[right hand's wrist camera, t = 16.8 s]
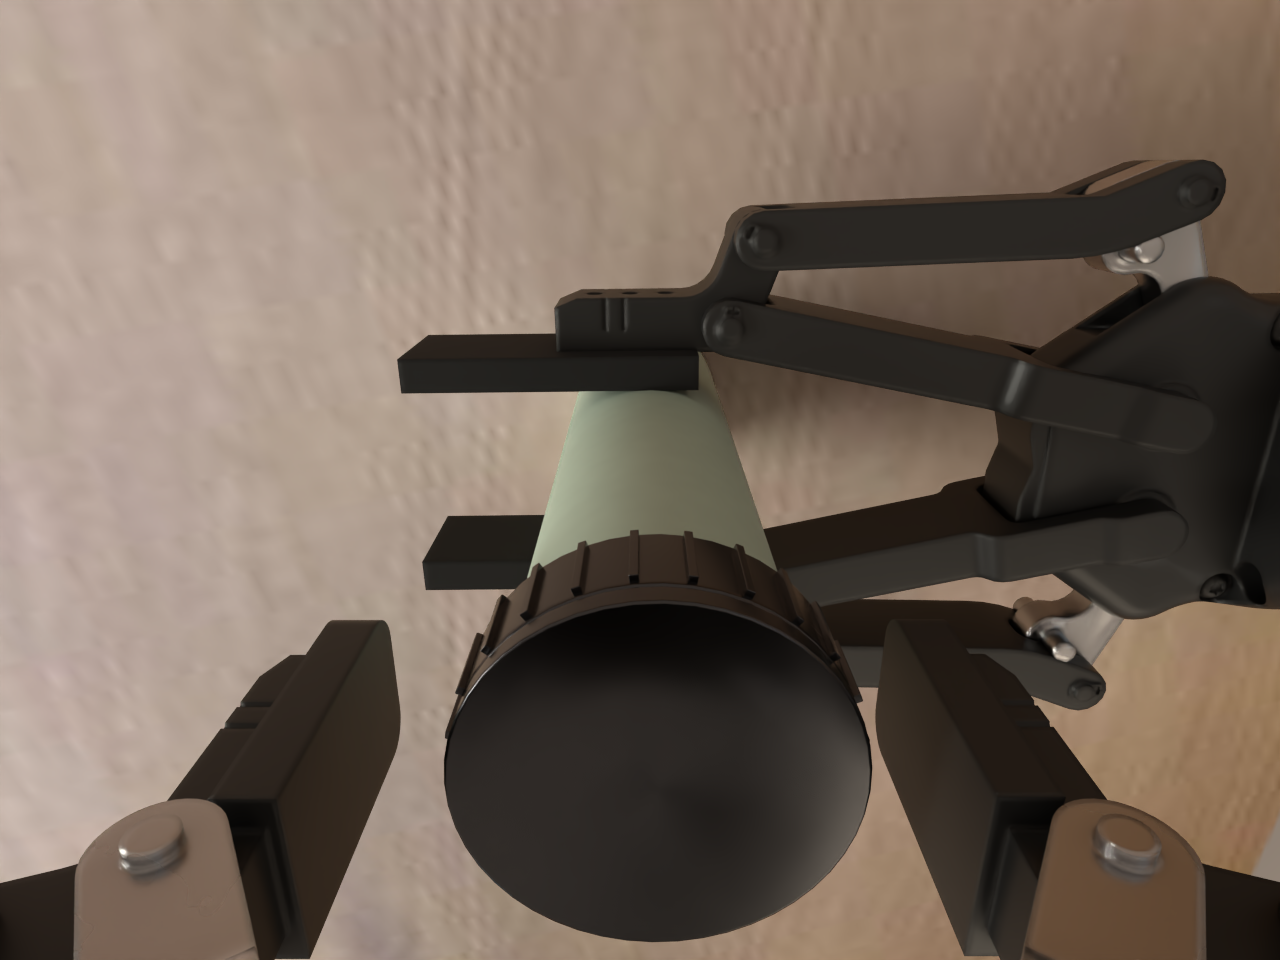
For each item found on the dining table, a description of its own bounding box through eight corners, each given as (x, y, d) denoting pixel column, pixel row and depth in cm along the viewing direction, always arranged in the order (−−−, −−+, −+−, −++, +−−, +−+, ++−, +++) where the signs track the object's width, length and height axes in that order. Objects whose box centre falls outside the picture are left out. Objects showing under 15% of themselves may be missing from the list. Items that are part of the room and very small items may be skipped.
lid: (769, 871, 12) (788, 981, 10) (434, 797, 11) (401, 899, 10) (903, 584, 10) (952, 661, 9) (514, 480, 10) (489, 542, 8)
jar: (567, 434, 26) (457, 838, 10) (600, 309, 24) (528, 561, 9) (690, 467, 26) (762, 904, 11) (729, 346, 25) (878, 647, 9)
